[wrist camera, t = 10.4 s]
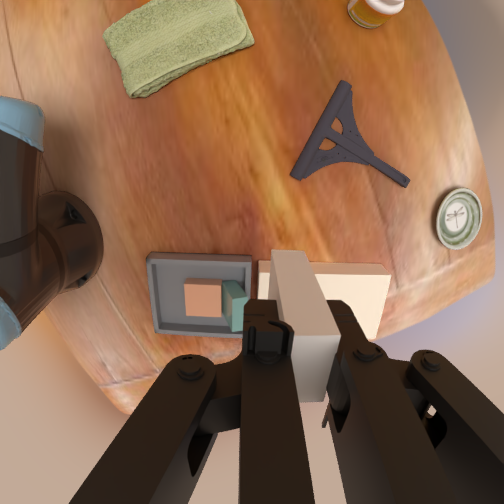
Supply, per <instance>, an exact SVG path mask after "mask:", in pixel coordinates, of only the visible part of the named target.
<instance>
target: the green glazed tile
mask: <svg viewBox="0 0 504 504" xmlns="http://www.w3.org/2000/svg"><path fill="white" fill-rule="evenodd" d="M247 301H248V296H247V295H246V294H245V292H244V291H243V289H242V288H241V287H240V285H239V284H238V282H237V281H236V280H232V281H224V282H222V313H223V315H224V317H225V319H226V321H227V323H228V325H229V327H230V329H231V331H232V332H236V331H242V330H243V311H244V305H245V304H246V302H247Z"/></svg>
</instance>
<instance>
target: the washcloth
mask: <svg viewBox="0 0 504 504" xmlns="http://www.w3.org/2000/svg"><path fill="white" fill-rule="evenodd" d="M103 38H104V40H105V42H106V45H107V46H108V49H110V51H111V55H112V57H113V58H114V59H115V60H117V63H118V65H119V67H120V69H121V71H122V73H121V75H122V80H123V83H124V88H125V89H126V92H127V94H128V95H129V97H130V98H136V97H148V96H149V95H150V94H152V93H153V92H157V91H158V90H159V89H160V88H161V87H163V86H165V85H166V84H167V83H169V82H170V81H172V80H173V79H176V78H177V77H180V76H182V75H183V74H186V73H187V72H188V71H189V70H191V69H194V68H196V67H198V66H200V65H204V64H206V63H209V61H212V59H216V58H217V57H219V56H222V55H226V54H228V53H229V52H234V51H236V50H237V49H243V48H246V47H250V46H251V45H253V44H254V39H253V36H252V34H251V31H250V30H249V27H248V25H247V22H246V20H245V17H244V15H243V12H242V10H241V7H240V6H239V5H238V3H237V2H236V1H235V0H152V1H150V2H148V3H147V4H145V5H142V7H140V8H138V9H135V10H133V11H131V13H128V14H126V16H124V17H123V18H121V19H120V20H119V21H117V22H116V23H113V25H112V26H110V27H109V28H108V29H106V30H105V31H104V33H103Z"/></svg>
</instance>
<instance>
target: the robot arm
mask: <svg viewBox="0 0 504 504" xmlns="http://www.w3.org/2000/svg"><path fill="white" fill-rule="evenodd" d="M44 124H45V116H44V113H43V111H42V109H41V108H40V107H39V106H38V105H36V104H34V103H31V102H28V101H24V100H20V99H15V98H10V97H4V96H0V350H2V349H4V348H5V347H7V346H8V345H9V344H10V343H11V342H12V341H13V340H14V339H15V338H17V337H19V336H20V335H21V333H22V332H23V331H24V330H25V328H26V327H27V326H28V325H29V324H30V323H31V322H32V321H33V320H34V319H35V318H36V316H37V315H38V314H39V313H40V312H41V311H42V310H43V309H44V308H45V307H46V306H47V305H48V304H49V303H50V302H51V300H52V299H53V298H54V297H55V296H56V295H57V294H61V293H64V292H67V291H70V290H74V289H77V288H79V287H81V286H83V285H84V284H85V283H86V282H88V281H89V280H90V279H91V277H92V276H93V275H94V274H95V273H96V272H97V270H98V268H99V266H100V264H101V260H102V256H103V239H102V234H101V230H100V227H99V224H98V222H97V220H96V218H95V216H94V214H93V213H92V211H91V210H90V209H89V207H88V206H87V205H86V204H85V203H84V202H83V201H82V200H80V199H79V198H78V197H76V196H74V195H72V194H70V193H67V192H62V191H54V192H50V193H47V194H44V195H42V196H40V197H39V181H40V169H41V159H42V152H44V147H43V134H44ZM326 391H327V393H328V396H329V403H328V406H327V409H326V412H325V416H324V419H323V422H322V428H325V427H326V424H327V421H329V425H330V430H331V434H332V438H333V443H334V447H335V451H336V456H337V461H338V465H339V470H340V474H341V479H342V483H343V488H344V493H345V498H346V502H347V504H504V414H503V413H502V412H501V411H500V410H499V409H498V408H497V407H496V406H495V405H494V404H493V403H492V402H491V401H490V400H489V399H488V398H487V397H486V396H485V395H484V394H483V393H482V392H481V391H480V390H479V389H478V388H477V387H475V386H474V384H473V383H472V382H471V381H469V380H468V379H467V378H466V377H465V376H464V375H463V374H462V373H461V372H460V371H459V370H458V369H457V368H456V367H455V366H454V365H452V363H450V362H449V361H448V360H447V359H446V358H445V357H444V356H442V355H441V354H439V353H437V352H435V351H431V350H419V351H417V352H415V353H414V354H413V356H412V357H411V360H410V362H409V361H402V360H395V359H390V358H388V356H387V354H386V352H385V351H384V350H383V349H382V348H381V347H380V346H378V345H376V344H375V343H372V342H369V341H368V340H367V338H366V336H365V334H364V332H363V330H362V328H361V326H360V324H359V322H357V319H356V317H355V316H354V313H353V311H352V309H351V307H350V306H349V305H347V304H346V303H345V302H343V301H342V300H326V299H325V297H324V294H323V292H322V290H321V288H320V285H319V283H318V281H317V278H316V276H315V274H314V272H313V270H312V267H311V265H310V263H309V261H308V258H307V256H306V254H305V252H304V251H297V250H273V249H272V250H271V264H270V277H269V290H268V299H249V300H248V301H247V302H246V304H245V305H244V311H243V337H242V351H241V353H240V354H239V356H238V357H236V358H235V359H234V360H231V361H229V362H226V363H222V364H217V365H214V363H213V362H212V361H210V360H209V359H208V358H206V357H203V356H200V355H193V354H188V355H181V356H179V357H176V358H174V359H172V360H171V361H170V362H169V363H168V364H167V365H166V367H165V368H164V369H163V371H162V372H161V374H160V375H159V376H158V378H157V379H156V381H155V382H154V383H153V385H152V386H151V388H150V389H149V390H148V392H147V393H146V395H145V396H144V397H143V399H142V400H141V402H140V403H139V405H138V406H137V407H136V409H135V410H134V412H133V413H132V414H131V416H130V417H129V419H128V420H127V421H126V423H125V424H124V426H123V427H122V429H121V430H120V431H119V433H118V434H117V436H116V437H115V439H114V440H113V441H112V443H111V444H110V445H109V447H108V448H107V450H106V451H105V453H104V454H103V455H102V457H101V459H100V460H99V461H98V463H97V464H96V465H95V467H94V468H93V470H92V471H91V472H90V474H89V475H88V477H87V478H86V480H85V481H84V482H83V484H82V485H81V487H80V488H79V490H78V491H77V492H76V494H75V495H74V497H73V498H72V499H71V501H70V502H69V504H188V502H189V500H190V497H191V495H192V493H193V491H194V488H195V486H196V483H197V482H198V479H199V477H200V475H201V473H202V470H203V468H204V466H205V463H206V461H207V458H208V456H209V454H210V452H211V449H212V447H213V445H214V442H215V440H216V438H217V435H218V433H219V432H223V431H228V430H232V429H237V428H240V447H239V499H238V504H315V500H314V493H313V486H312V480H311V473H310V467H309V461H308V454H307V448H306V442H305V436H304V430H303V424H302V417H301V412H300V406H299V402H322V401H324V397H325V394H326ZM431 405H432V406H433V407H434V408H435V409H436V413H435V414H434V416H432V415H430V414H429V413H428V412H427V411H428V410H429V408H430V406H431Z"/></svg>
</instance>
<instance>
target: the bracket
mask: <svg viewBox="0 0 504 504" xmlns="http://www.w3.org/2000/svg"><path fill="white" fill-rule="evenodd" d="M351 87H352V86H351V85H350V84H349V83H348V82H346V81H343V80H341V81H340V83H339V84H338V86H337V88H336V90H335V92H334V94H333V95H332V97H331V99H330V101H329V103H328V105H327V107H326V108H325V110H324V112H323V114H322V116H321V118H320V119H319V121H318V123H317V125H316V127H315V129H314V131H313V132H312V134H311V136H310V138H309V140H308V142H307V143H306V145H305V147H304V149H303V151H302V153H301V155H300V156H299V158H298V160H297V162H296V164H295V166H294V168H293V169H292V171H291V173H290V175H291V176H292V177H294V178H296V179H298V180H300V181H301V180H302V178H304V179H305V178H307V177H308V176H309V175H311V174H312V173H314V172H315V171H317V170H318V169H320V168H322V167H325V166H327V165H330V164H333V163H337V162H357V163H361V164H365V165H369V164H370V165H372V166H373V167H375V168H376V169H378V170H379V171H381V172H382V173H384V174H385V175H387V176H388V177H389V178H391V179H392V180H394V181H395V182H397V183H398V184H400V185H401V186H403V187H404V188H406V187H407V186H408V184H409V182H410V179H409V178H408V177H406V176H405V175H404V174H402V173H400V172H399V171H397V170H396V169H394V168H393V167H391V166H390V165H388V164H387V163H385V162H383V161H382V160H380V159H379V158H377V157H376V156H374V153H373V151H372V150H371V149H370V148H369V147H368V145H367V144H366V143H365V141H364V140H363V138H362V136H361V135H360V133H359V131H358V129H357V126H356V123H355V119H354V115H353V108H352V91H351V90H350V89H351ZM335 117H337V118H338V119H339V120H340V122H341V123H342V126H343V133H342V135H341V134H339V133H338V132H336V131H335V130H333V129H332V128H331V125H332V123H333V121H334V119H335ZM349 131H350V132H349ZM356 135H357V136H356ZM324 138H327V139H329V140H331V141H333V142H335V143H336V146H335V147H334V148H333V149H331V150H327V151H324V150H320V149H319V147H320V145H321V143H322V141H323V140H324ZM337 153H338V154H337ZM344 157H345V158H344Z"/></svg>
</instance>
